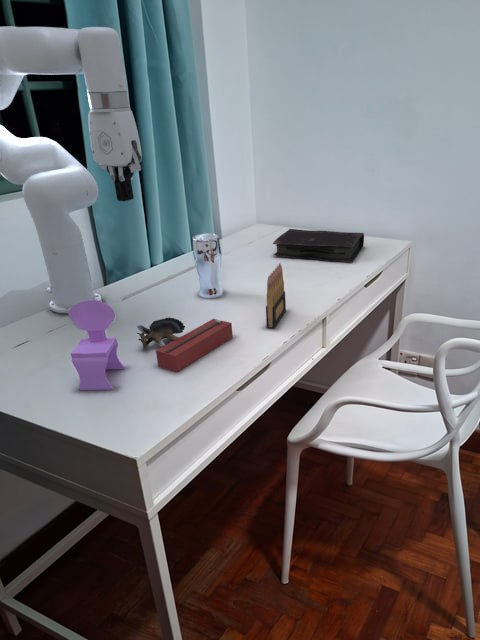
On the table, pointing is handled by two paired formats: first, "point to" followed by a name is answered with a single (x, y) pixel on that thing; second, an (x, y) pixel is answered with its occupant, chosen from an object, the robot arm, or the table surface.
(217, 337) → the pencil case
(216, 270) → the beer glass
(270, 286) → the ammunition clip
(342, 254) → the diary
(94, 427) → the table surface
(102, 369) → the toy chair
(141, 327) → the eagle figurine
